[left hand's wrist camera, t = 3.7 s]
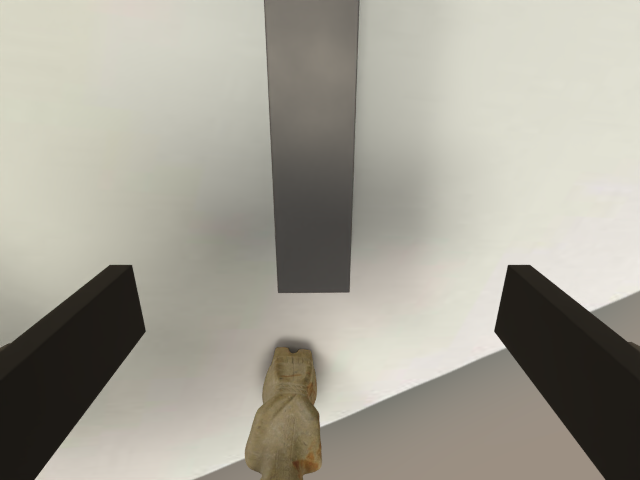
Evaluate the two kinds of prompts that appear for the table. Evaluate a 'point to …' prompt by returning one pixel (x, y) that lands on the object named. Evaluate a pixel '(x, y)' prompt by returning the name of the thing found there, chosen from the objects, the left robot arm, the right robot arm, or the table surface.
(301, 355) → the sculpture
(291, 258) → the plank
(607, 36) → the table surface
